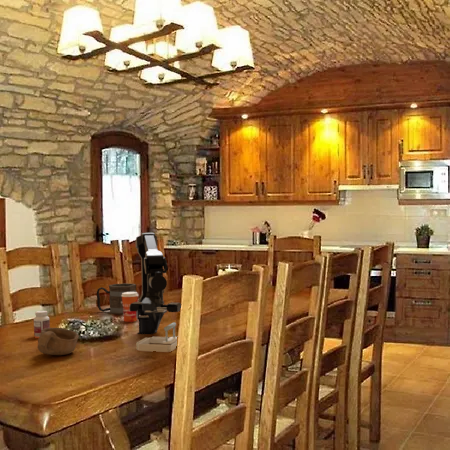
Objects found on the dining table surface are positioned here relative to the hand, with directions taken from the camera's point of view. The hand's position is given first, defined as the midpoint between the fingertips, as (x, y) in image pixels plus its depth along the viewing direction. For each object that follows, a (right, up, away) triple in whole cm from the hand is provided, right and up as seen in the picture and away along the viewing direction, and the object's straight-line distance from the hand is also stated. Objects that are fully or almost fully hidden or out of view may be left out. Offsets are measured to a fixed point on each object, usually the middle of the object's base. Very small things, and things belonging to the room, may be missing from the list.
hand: (156, 330), depth 242 cm
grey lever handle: (+6, -4, -1) cm, 7 cm away
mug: (-27, -5, +75) cm, 80 cm away
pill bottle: (-49, -7, +23) cm, 54 cm away
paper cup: (-17, -6, +53) cm, 56 cm away
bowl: (-34, -8, -10) cm, 36 cm away
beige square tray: (+1, -7, 0) cm, 7 cm away
